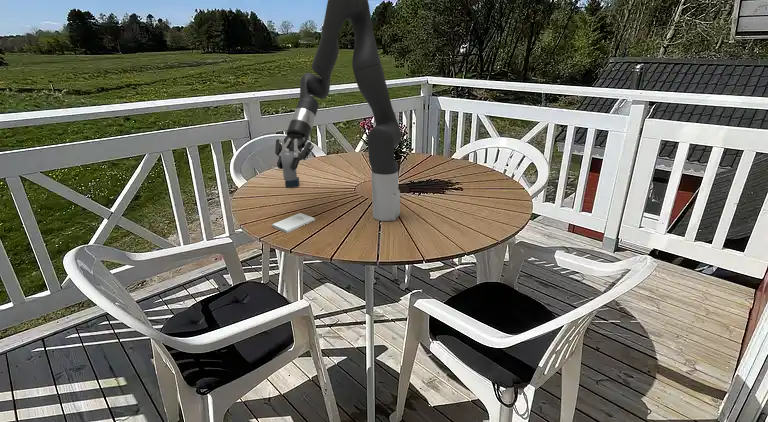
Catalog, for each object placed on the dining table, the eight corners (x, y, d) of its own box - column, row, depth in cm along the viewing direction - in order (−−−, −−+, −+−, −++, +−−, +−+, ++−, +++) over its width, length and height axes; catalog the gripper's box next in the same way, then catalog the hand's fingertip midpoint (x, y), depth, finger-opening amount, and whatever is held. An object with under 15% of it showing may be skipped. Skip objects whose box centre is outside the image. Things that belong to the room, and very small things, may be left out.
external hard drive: (272, 228, 136) (299, 216, 145) (287, 234, 131) (315, 221, 140) (271, 224, 135) (299, 212, 144) (286, 230, 130) (314, 217, 139)
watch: (299, 182, 177) (297, 158, 173) (298, 188, 170) (295, 163, 166) (287, 182, 177) (284, 159, 172) (285, 189, 169) (282, 164, 165)
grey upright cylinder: (299, 177, 134) (296, 147, 130) (292, 181, 130) (289, 151, 126) (288, 175, 136) (284, 146, 131) (281, 179, 132) (277, 150, 128)
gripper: (278, 117, 134) (261, 161, 128) (315, 119, 129) (299, 165, 124) (288, 129, 141) (273, 172, 135) (324, 132, 136) (309, 176, 131)
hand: (286, 168), depth 130 cm, fingers closed on grey upright cylinder, 4 cm apart
